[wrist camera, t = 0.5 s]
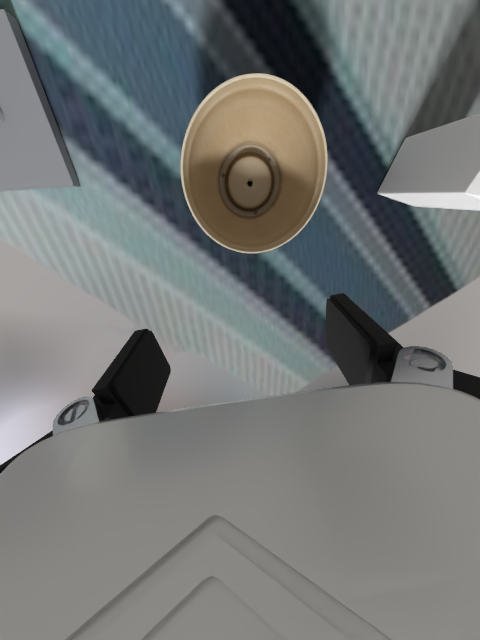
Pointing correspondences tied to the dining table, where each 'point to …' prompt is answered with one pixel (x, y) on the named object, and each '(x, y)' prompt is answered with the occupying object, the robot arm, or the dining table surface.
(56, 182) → the gear board
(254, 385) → the dining table surface
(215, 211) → the planter bowl
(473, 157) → the milk carton
